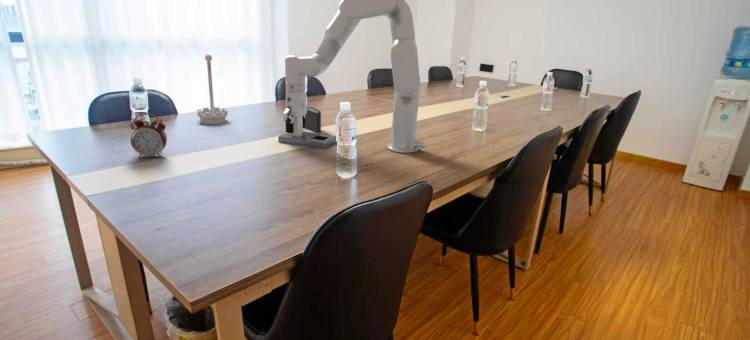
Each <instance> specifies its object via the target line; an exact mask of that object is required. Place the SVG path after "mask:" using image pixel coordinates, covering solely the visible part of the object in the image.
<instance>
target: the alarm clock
mask: <svg viewBox="0 0 750 340" xmlns="http://www.w3.org/2000/svg"><path fill="white" fill-rule="evenodd" d="M140 116H152V117H155V119H154V120H152V122H151V123H150V121H148V120H147V121H144V120H142V119H140V118H138V117H140ZM129 125H130V126H129V127H130V129H131V130H132V133H131V136H130V145H131V147H132V148H133V150H134V151H135V152H137V154H138V155H139V156H138V158H139V159H140V158H141V156H145V157H152V156H153V157H154V156H156V155H157V156H159V158H162V156H161V155H163V151H164V149H165V148H166V147H167V146H166V145H167V141H168V137H167V133H166V131H165V130H166V123H165V122H164V121H163V118H161V119H159V117H157V115H156V114H153V113H140V114H137V115H136V116H135V118H134V117H133V118H132V121H130V124H129Z"/></svg>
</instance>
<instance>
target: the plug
mask: <svg viewBox="0 0 750 340" xmlns="http://www.w3.org/2000/svg"><path fill="white" fill-rule="evenodd" d="M290 120H291V118H290ZM292 123H294V133H289V135H290V136H296V137H299V136H301V135H303V131H304V130H303V129H304V128H303V117H302V116H301V117H298V118H295V117H294V120H293V122H292Z"/></svg>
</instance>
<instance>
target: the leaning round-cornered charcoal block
mask: <svg viewBox="0 0 750 340" xmlns="http://www.w3.org/2000/svg"><path fill="white" fill-rule="evenodd" d="M304 129H307V130H309V131H312V132H313V133H319V134H320V133H321V131H322V112H321V111H320V109H318V108H315V107H311V106H307V113H306V118H305V128H304Z"/></svg>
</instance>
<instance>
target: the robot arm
mask: <svg viewBox="0 0 750 340" xmlns="http://www.w3.org/2000/svg"><path fill="white" fill-rule="evenodd" d="M338 9H339V10H338V11H337V12H336V14H335V15H334V16H333V18H332V20H331V21H330V22H329V24H328V25H327V27H326V29H325V32H324V37H323V39H322V41H321V43H320V45H319V47H318V48H317V49H316V51H315V52H314V54H313V55H311V56H303V55H300V54H289V55H286V56H285V58H284V70H285V73H284V75H285V101H284V102H285V103H284V110H285V111H283V113H282V116H283V120H284V123H285V133H294V123H292V122H293V120H294V117H295V118H298V117H301V116H302V117H303V129H306V128H305V118H306V113H307V107H308V103H307V101H308V100H307V94H306V77H311V78H313V77H318V76H319V75H322V74H324V73H325V72H326V71H327V69H328V68H329V66H330V65H331V64H332V63H333V61H334V60H335V59H336V56H337V55H338V54H339V53H340V51H341V49H343V46H345V44H346V41H347V40H349V37H350V36H351V35H352V33H353V32H354V31H355V29H356V27H357V26H358V25H359V23H361V21H362V20H366V19H370V18H376V17H382V16H383V17H385V16H386V18H387V19H388V20H389V27H390V34H391V40H392V41H391V42H392V43H391V44H392V45H391V49H390V63H391V72H392V81H393V88H394V95H393V108H392V109H393V110H392V124H391V136H390V137H391V139H390V142H388V143H387V144H386V149H387V150H389V151H392V152H396V153H403V154H406V153H407V154H409V153H414V152H415V153H416V152H418V150H419V148H422V149H426V143H425V142H424V141H419V140H418V137H417V135H416V134H417V122H418V112H419V102H420V91H421V89H420V87H421V76H420V68H419V67H420V66H419V56H418V55H419V53H418V47H417V43H416V34H415V33H416V32H415V27H414V17H413V13H412V10H411V8H410V6H409V4H408V2H407V1H406V0H341V1H340V3H339V8H338ZM290 118H291V120H290Z"/></svg>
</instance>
